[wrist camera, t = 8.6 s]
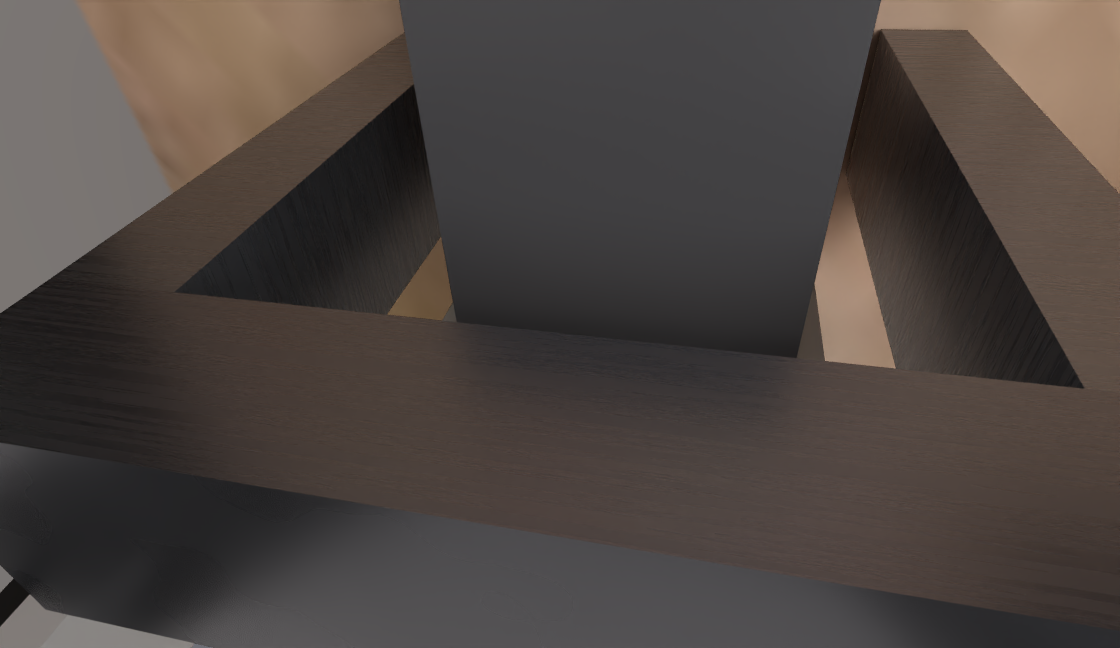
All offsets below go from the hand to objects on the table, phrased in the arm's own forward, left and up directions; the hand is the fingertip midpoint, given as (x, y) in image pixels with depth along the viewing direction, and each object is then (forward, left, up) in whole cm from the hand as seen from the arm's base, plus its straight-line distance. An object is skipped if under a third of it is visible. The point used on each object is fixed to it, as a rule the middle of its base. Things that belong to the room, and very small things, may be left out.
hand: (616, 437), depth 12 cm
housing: (-4, 0, -6) cm, 7 cm away
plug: (-3, 0, -6) cm, 7 cm away
